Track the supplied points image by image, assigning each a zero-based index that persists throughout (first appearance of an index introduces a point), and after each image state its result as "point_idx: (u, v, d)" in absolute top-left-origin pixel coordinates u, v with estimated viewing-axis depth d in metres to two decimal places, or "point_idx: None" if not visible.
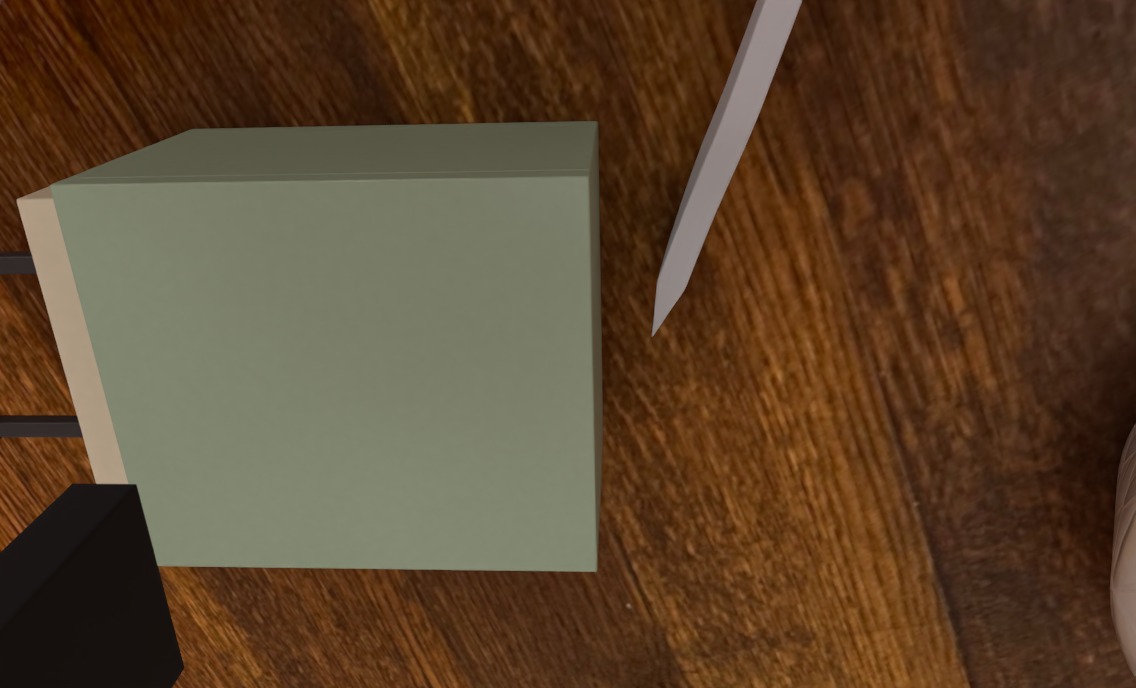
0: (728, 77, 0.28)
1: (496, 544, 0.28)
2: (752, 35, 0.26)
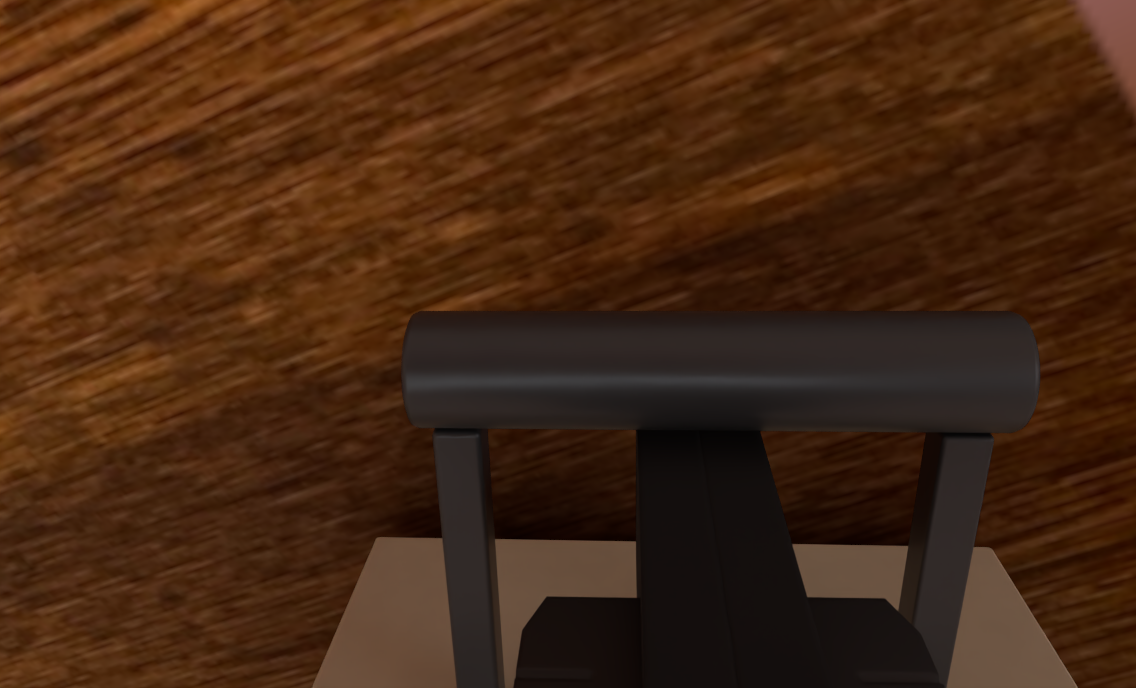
0: None
1: None
2: None
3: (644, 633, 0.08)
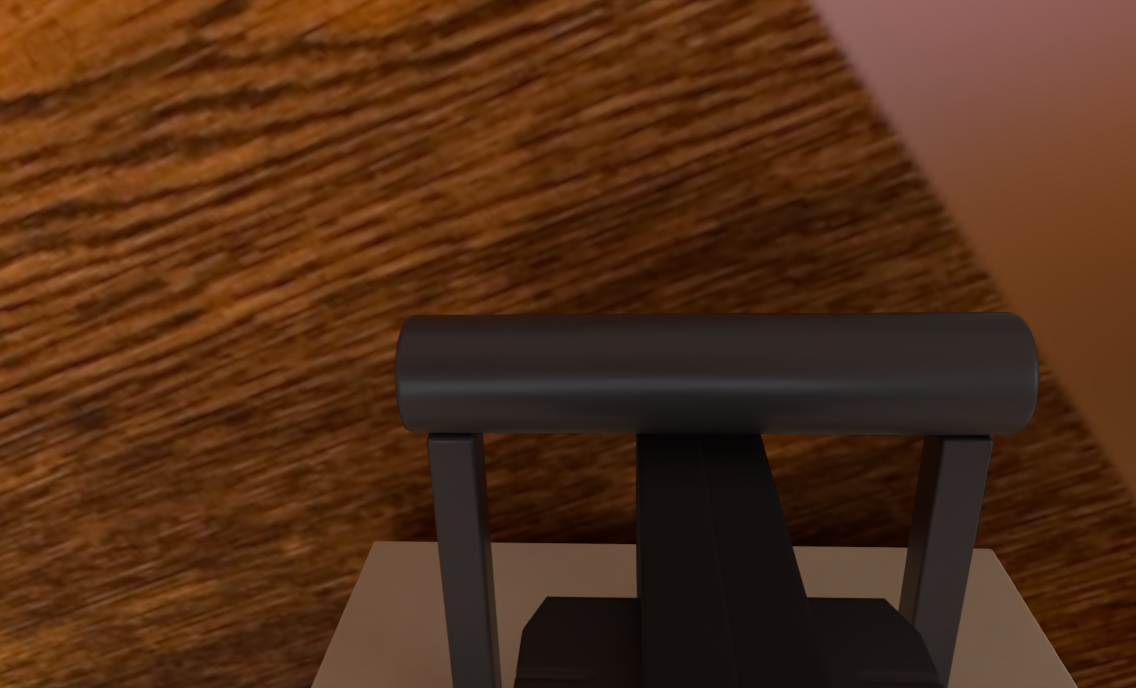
0: None
1: None
2: None
3: (644, 633, 0.08)
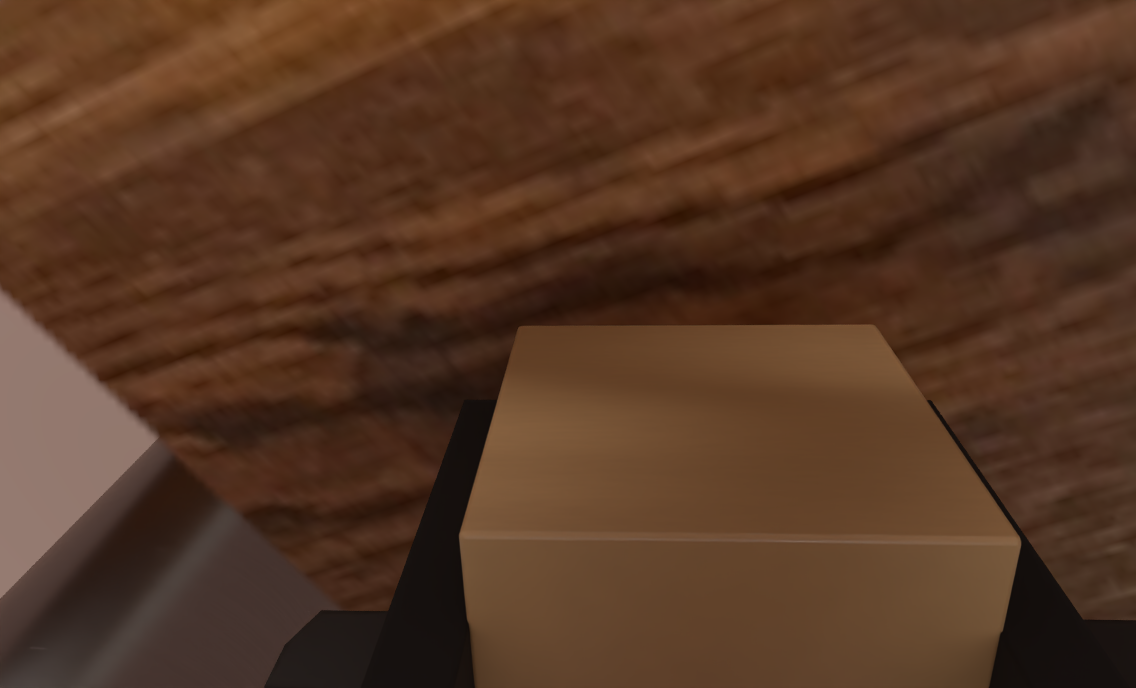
0: None
1: None
2: None
3: (375, 650, 0.07)
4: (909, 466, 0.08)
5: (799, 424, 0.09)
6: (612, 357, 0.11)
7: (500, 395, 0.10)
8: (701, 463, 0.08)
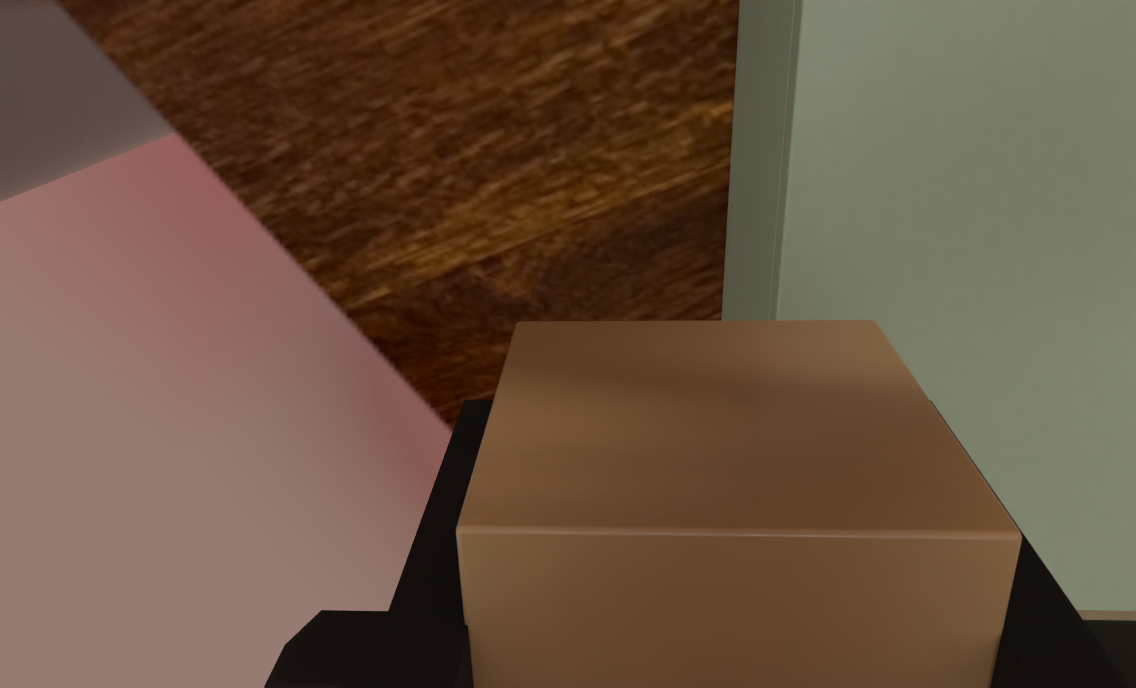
0: None
1: None
2: None
3: (375, 650, 0.07)
4: (909, 461, 0.08)
5: (798, 418, 0.09)
6: (611, 352, 0.10)
7: (498, 390, 0.10)
8: (699, 457, 0.08)
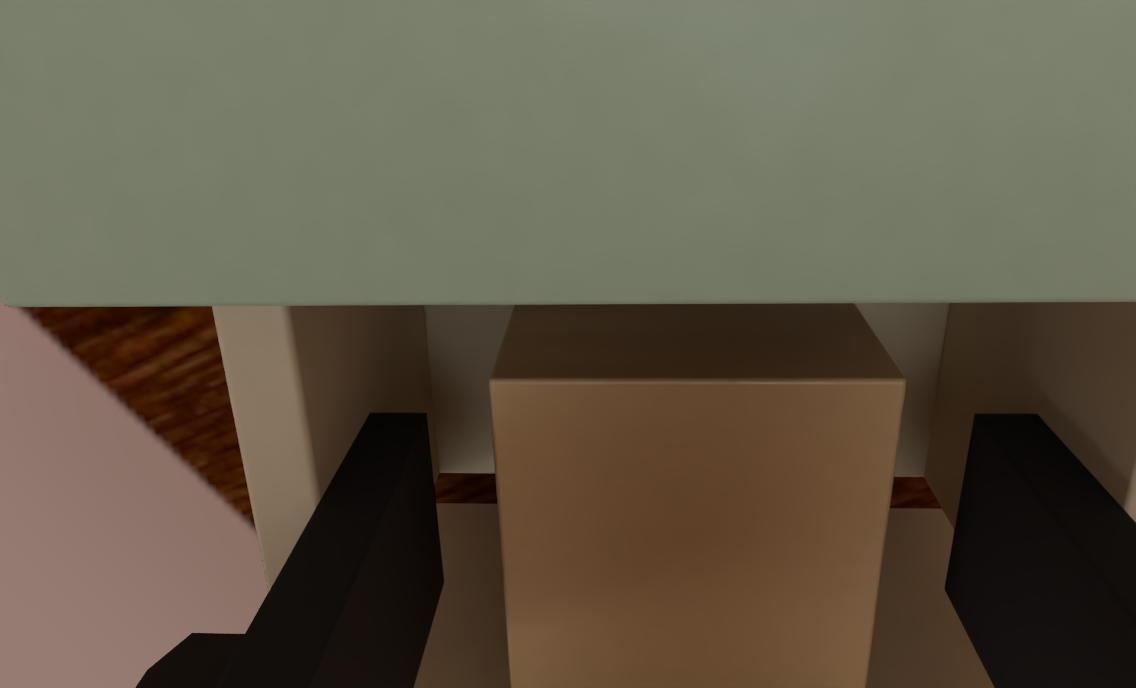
0: None
1: None
2: None
3: (221, 679, 0.07)
4: (831, 339, 0.11)
5: (751, 316, 0.11)
6: None
7: None
8: (672, 339, 0.11)
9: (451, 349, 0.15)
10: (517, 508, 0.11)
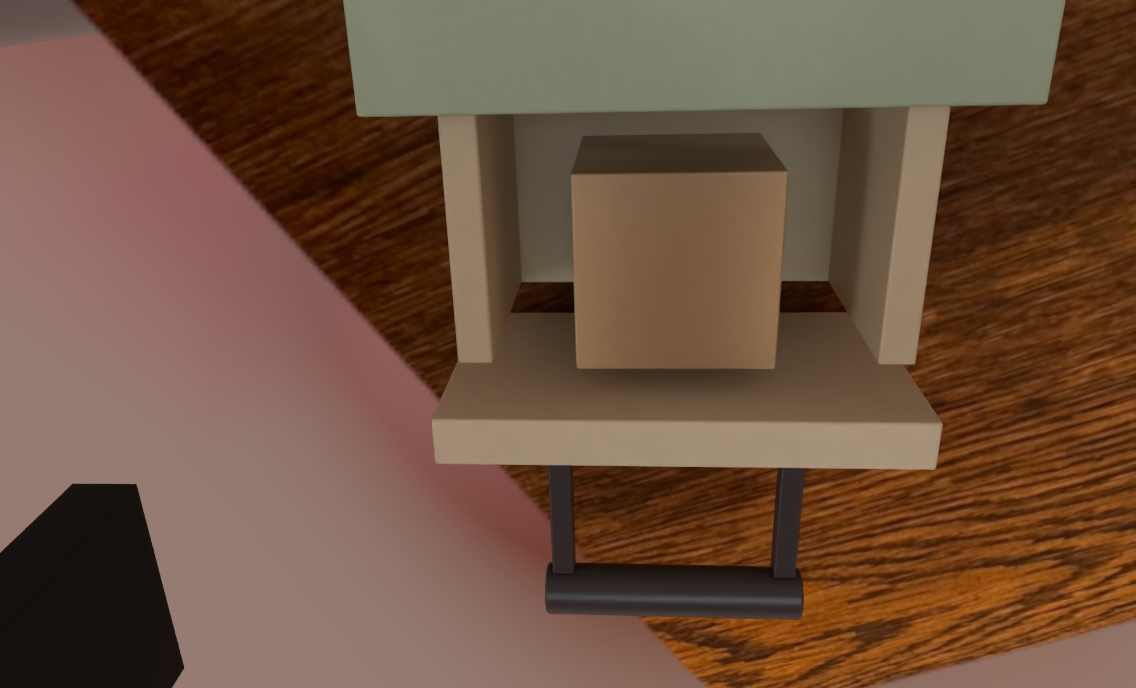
0: None
1: None
2: None
3: None
4: (754, 160, 0.20)
5: (712, 153, 0.20)
6: (629, 142, 0.22)
7: (578, 151, 0.21)
8: (668, 161, 0.20)
9: (531, 197, 0.24)
10: (583, 250, 0.20)
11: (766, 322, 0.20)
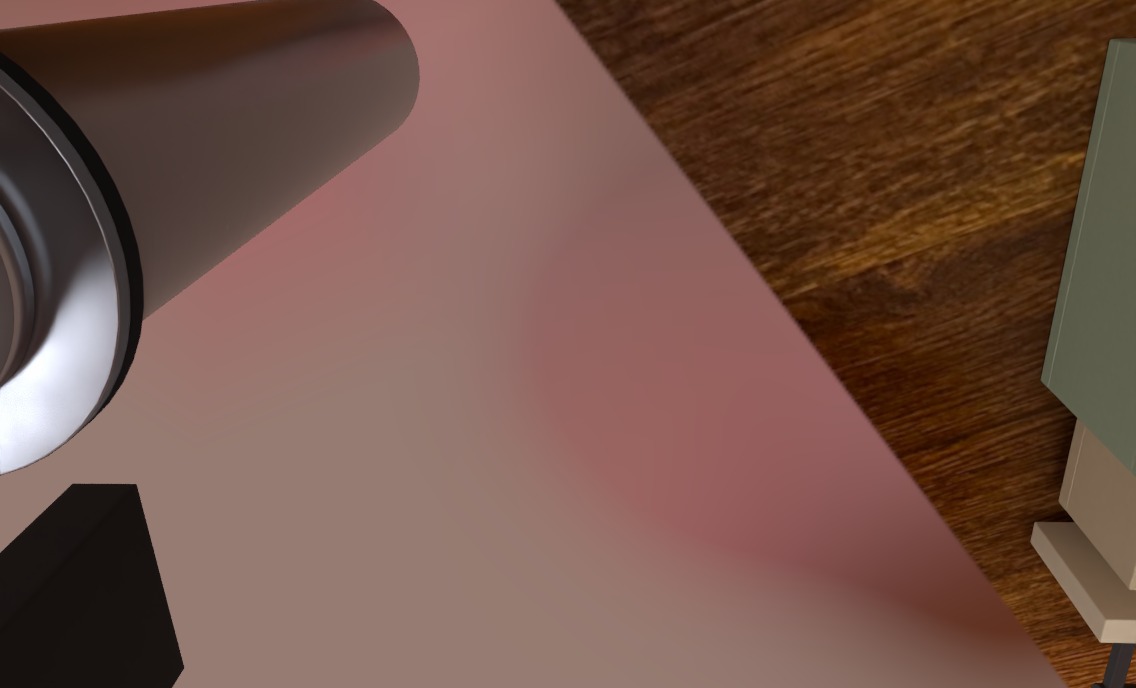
0: None
1: None
2: None
3: None
4: None
5: None
6: None
7: None
8: None
9: None
10: None
11: None
